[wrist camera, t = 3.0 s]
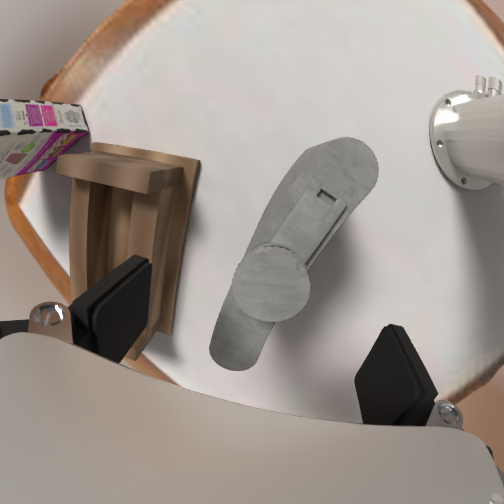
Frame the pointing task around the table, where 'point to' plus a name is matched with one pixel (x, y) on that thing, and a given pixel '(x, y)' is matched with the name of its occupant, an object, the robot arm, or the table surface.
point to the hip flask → (290, 246)
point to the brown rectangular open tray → (129, 221)
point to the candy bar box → (36, 134)
